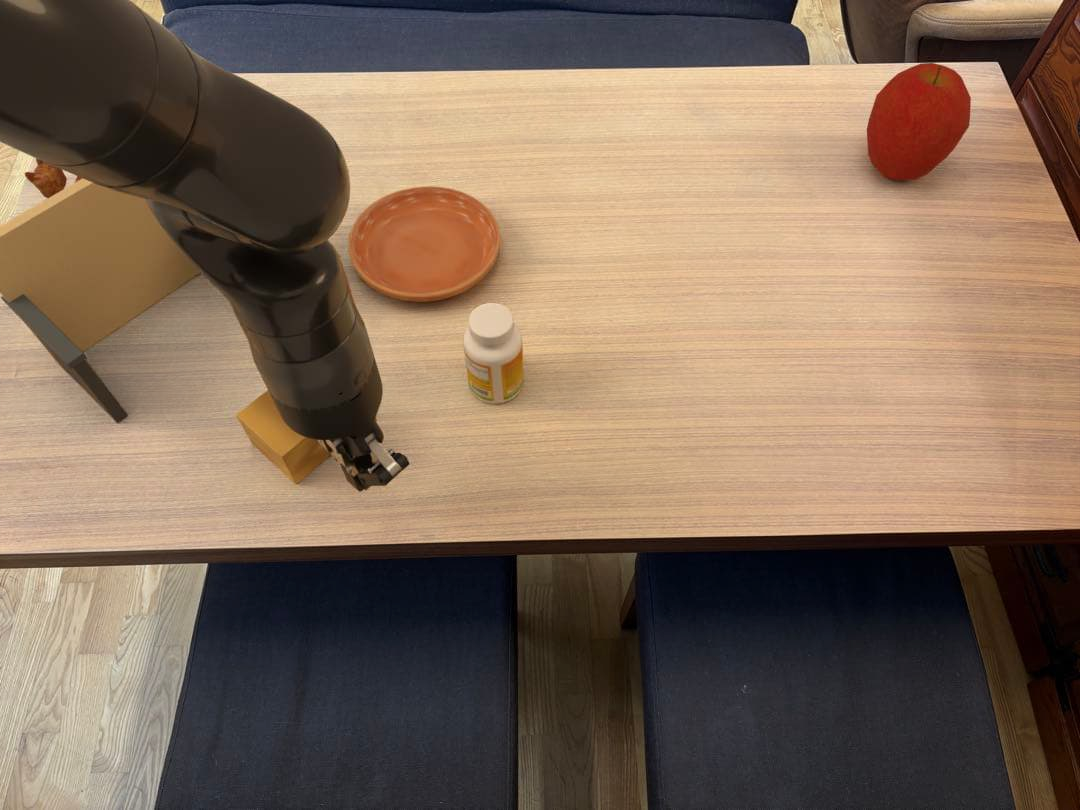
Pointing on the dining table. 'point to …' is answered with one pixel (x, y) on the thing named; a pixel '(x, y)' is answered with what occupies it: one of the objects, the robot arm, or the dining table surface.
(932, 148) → the apple
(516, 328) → the supplement bottle
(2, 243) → the small wooden bench
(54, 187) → the cat figurine
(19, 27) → the robot arm
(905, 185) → the dining table surface
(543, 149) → the dining table surface
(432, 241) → the saucer
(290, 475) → the box
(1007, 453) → the dining table surface
